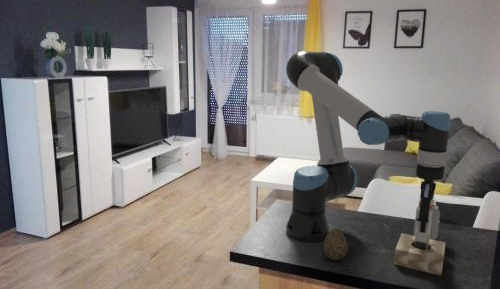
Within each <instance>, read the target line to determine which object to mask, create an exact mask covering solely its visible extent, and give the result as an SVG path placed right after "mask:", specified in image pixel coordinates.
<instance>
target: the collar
mask: <svg viewBox="0 0 500 289" xmlns="http://www.w3.org/2000/svg"><path fill="white" fill-rule="evenodd" d="M414 243H415V235H414V234H413V235H411V234H408V233H403V232H402V233H401V234H400V237H399V238H398V242H397V244H396V247H395V250H394V258H393V259H394V260H393V265H396V266H400V267H404V268H409V269H412V270H416V271H421V272H424V273H429V274H432V275H436V276H439V277H440V276H442V272H443V265H444V260H445V259H444V258H445V250H446V242H444V241H440V240H437V239H435V240H432V239H429V247H428V250H422V249H417V248H415V247H414Z"/></svg>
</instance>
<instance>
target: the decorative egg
mask: <svg viewBox="0 0 500 289" xmlns="http://www.w3.org/2000/svg"><path fill="white" fill-rule="evenodd" d="M323 251H324V254H325V255H326V257H327V258H328V259H329V260H331V261H334V262H335V261H340V260H342V259H343V258H344V257H345V256H346V254H347V252H348V242H347V238H346V237H345V235H344V233H343V232H342V231H341V230H340V229H339V228H338V229H337V228H334V229H332V230H331V231H329V234H328V235H327V236H326V238H325V240H323Z"/></svg>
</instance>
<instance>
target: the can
mask: <svg viewBox="0 0 500 289" xmlns="http://www.w3.org/2000/svg"><path fill="white" fill-rule="evenodd" d="M440 215H441V212H440V210H439V206H438V205H436V204H434V207H433V215H432V222H431V230H430V239H432V240H437V239H438V231H439V224H440V217H441V216H440ZM417 216H418V206H417V207H416V211H415V219H414V227H413V236H415V234H416V225H417V221H416V219H417Z"/></svg>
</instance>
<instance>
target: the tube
mask: <svg viewBox="0 0 500 289" xmlns="http://www.w3.org/2000/svg"><path fill="white" fill-rule="evenodd" d="M418 199H419V200H418V206H417V207H418V216H417V218H419V213H420V204H421V198H420V197H419V198H418ZM434 203H435V200H434V198H433V199H432V200H431V203H430V211H429V219H428V220H429V224H428V233H427V241H426V243H424V242H420V241H416V240H417V232H418V223H419V221H417V225H416V234H415V235H414V236H415V243H414V247H415V248H417V249H422V250H428V247H429V239H430V230H431V222H432V214H433V207H434V205H435V204H434Z"/></svg>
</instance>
